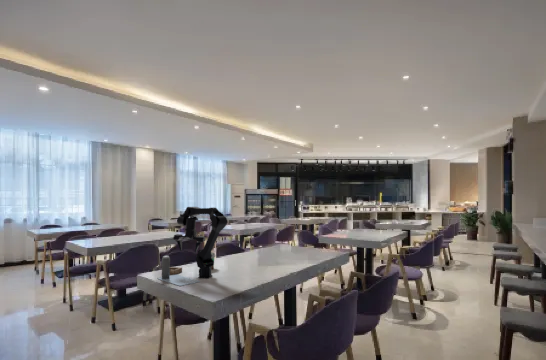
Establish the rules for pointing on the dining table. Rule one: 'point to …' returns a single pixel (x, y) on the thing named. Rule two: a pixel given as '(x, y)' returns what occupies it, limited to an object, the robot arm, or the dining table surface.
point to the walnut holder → (175, 270)
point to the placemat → (179, 280)
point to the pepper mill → (165, 267)
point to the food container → (212, 258)
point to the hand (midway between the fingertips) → (188, 251)
